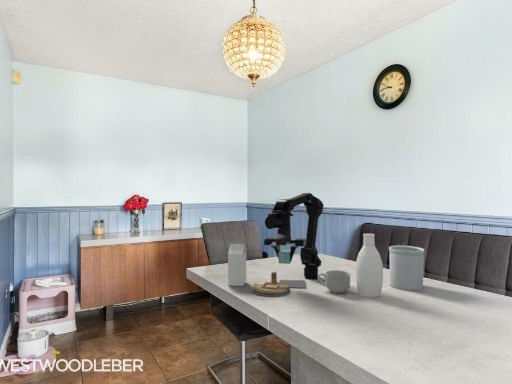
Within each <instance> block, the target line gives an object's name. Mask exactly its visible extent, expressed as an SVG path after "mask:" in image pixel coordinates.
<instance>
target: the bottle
mask: <svg viewBox="0 0 512 384" xmlns="http://www.w3.org/2000/svg"><path fill="white" fill-rule="evenodd" d="M362 243H363V245H362V247H361V248H360V251H358V254H357V258H356V261H355V281H356V287H357V288H356V289H357V293H358V294H359V295H360V296H361V297H364V298H373V299H374V298H378V297H380V296H382V290H383V289H382V288H383V285H384V264H383V260H382V257H381V254H380V252H379V251H378V249H377V247H376V246H375V245H376V244H375V243H376V242H375V234H374V233H363V242H362Z"/></svg>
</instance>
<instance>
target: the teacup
mask: <svg viewBox="0 0 512 384" xmlns="http://www.w3.org/2000/svg"><path fill="white" fill-rule="evenodd" d="M351 275H352V274H351V273H350V272H348V271H344V270H337V269H333V270H327V271H326V272H325V273H323V272H320V273H318V279H317V280H318V282H320V283H321V284H322V285H324V287H326V288H327V289H328V291H330V292H331V293H334V294H344V293H346V292H347V291H349V289H350V287H351ZM321 276H323V277H324V279H325V280H322V279H321Z"/></svg>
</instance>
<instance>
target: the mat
mask: <svg viewBox="0 0 512 384" xmlns="http://www.w3.org/2000/svg"><path fill="white" fill-rule="evenodd" d="M279 282H280V283H284V284H286V285H288V288H289V289H307V286H306V281H305V280H301V279H279Z"/></svg>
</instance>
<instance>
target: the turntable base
mask: <svg viewBox="0 0 512 384" xmlns="http://www.w3.org/2000/svg"><path fill="white" fill-rule="evenodd" d="M290 290H291V288H288V291H286V292H283V293H279V294H263V293H258V292H255V291H254V290H253V289H252V287H251V290H250V292H251V293H252V294H254V295H256V296H261V297H280V296H281V297H282V296H285V295H288V294H289V293H290Z"/></svg>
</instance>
